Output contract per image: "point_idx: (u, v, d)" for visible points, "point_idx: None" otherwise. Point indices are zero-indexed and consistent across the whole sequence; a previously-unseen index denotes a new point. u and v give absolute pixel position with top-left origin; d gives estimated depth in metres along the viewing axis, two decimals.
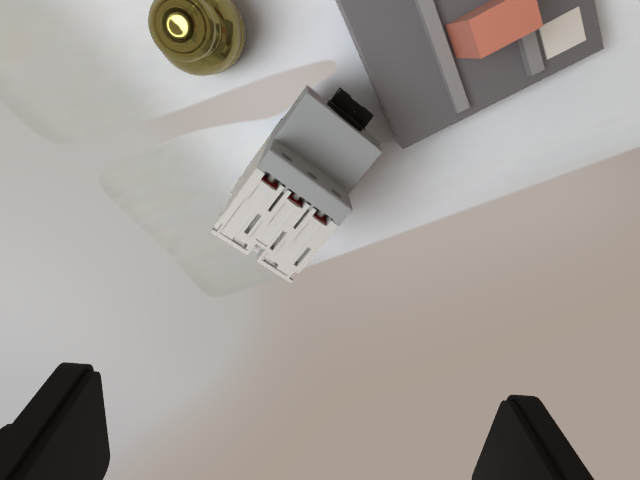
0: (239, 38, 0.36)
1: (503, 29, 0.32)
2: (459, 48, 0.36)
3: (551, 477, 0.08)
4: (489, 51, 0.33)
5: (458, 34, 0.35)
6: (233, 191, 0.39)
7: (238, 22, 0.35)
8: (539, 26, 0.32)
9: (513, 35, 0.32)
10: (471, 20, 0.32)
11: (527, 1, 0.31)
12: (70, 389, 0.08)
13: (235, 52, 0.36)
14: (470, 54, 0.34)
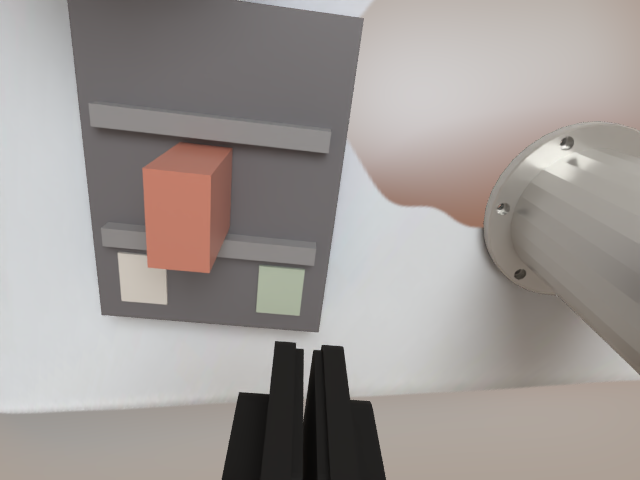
0: None
1: (172, 216, 0.19)
2: (187, 150, 0.22)
3: (315, 408, 0.08)
4: (147, 184, 0.19)
5: (206, 156, 0.22)
6: None
7: None
8: (149, 262, 0.20)
9: (155, 227, 0.20)
10: (208, 179, 0.19)
11: (192, 260, 0.20)
12: (295, 362, 0.09)
13: None
14: (164, 158, 0.20)
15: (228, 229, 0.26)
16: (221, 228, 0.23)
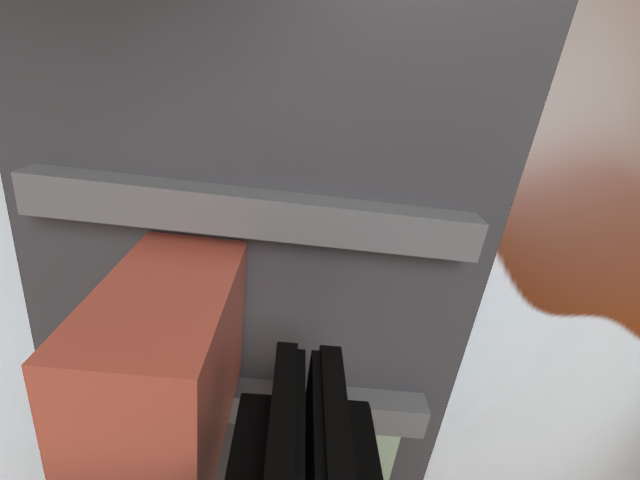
0: None
1: (105, 458, 0.08)
2: (157, 260, 0.11)
3: (312, 409, 0.08)
4: (38, 397, 0.07)
5: (193, 281, 0.10)
6: None
7: None
8: None
9: (68, 476, 0.08)
10: (191, 387, 0.07)
11: None
12: (297, 362, 0.09)
13: None
14: (97, 303, 0.09)
15: (238, 376, 0.14)
16: (225, 408, 0.12)
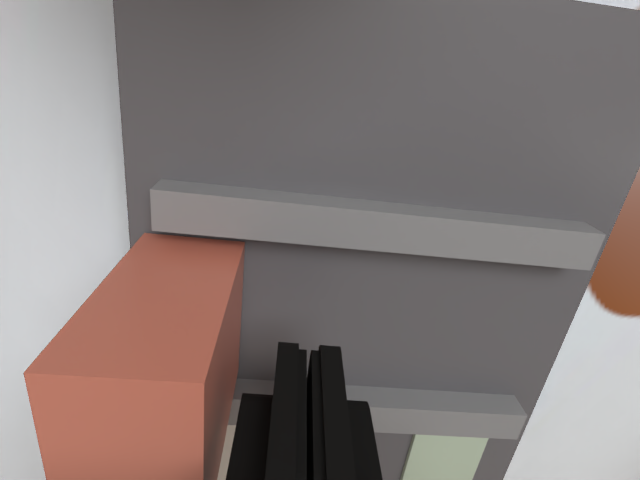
0: None
1: (110, 464, 0.08)
2: (155, 262, 0.11)
3: (311, 409, 0.08)
4: (41, 405, 0.07)
5: (193, 283, 0.10)
6: None
7: None
8: None
9: None
10: (198, 390, 0.07)
11: None
12: (298, 363, 0.09)
13: None
14: (97, 307, 0.09)
15: (236, 378, 0.14)
16: (225, 410, 0.12)
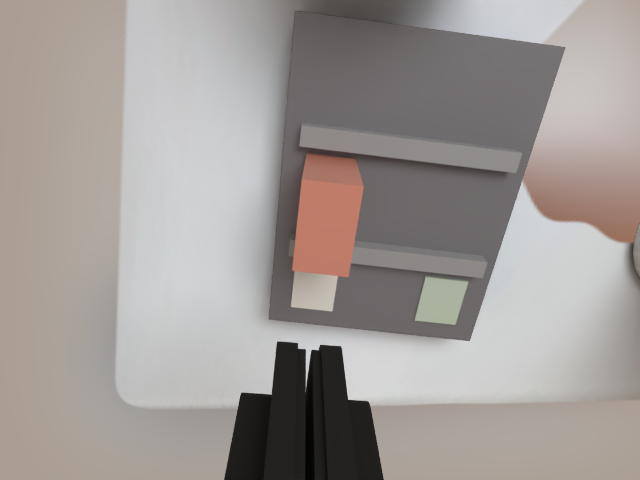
0: None
1: (322, 223, 0.21)
2: (320, 161, 0.24)
3: (312, 409, 0.08)
4: (303, 193, 0.20)
5: (341, 167, 0.23)
6: None
7: None
8: (294, 266, 0.22)
9: (305, 233, 0.21)
10: (361, 189, 0.20)
11: (334, 264, 0.22)
12: (297, 363, 0.09)
13: None
14: (310, 169, 0.22)
15: None
16: None
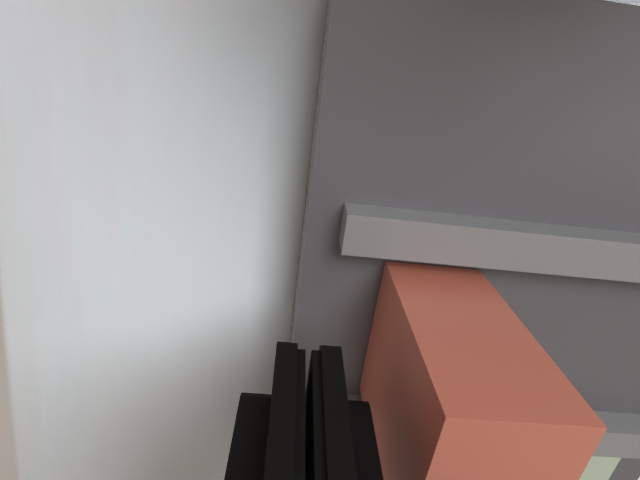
0: None
1: None
2: (429, 294, 0.11)
3: (312, 409, 0.08)
4: (446, 447, 0.08)
5: (484, 316, 0.10)
6: None
7: None
8: None
9: None
10: (598, 434, 0.08)
11: None
12: (297, 363, 0.09)
13: None
14: (432, 345, 0.09)
15: None
16: None
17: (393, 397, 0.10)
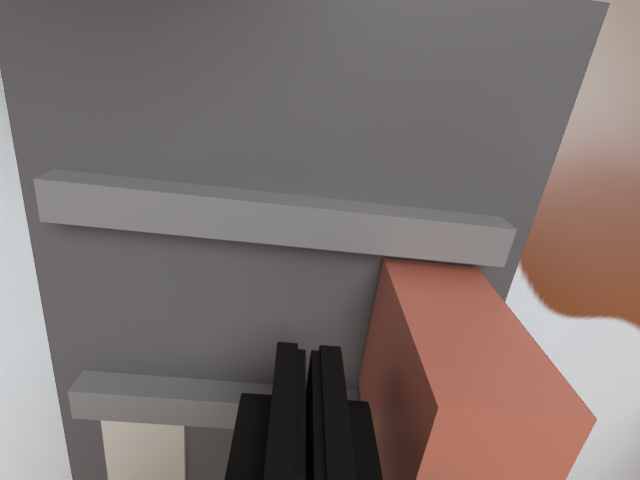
0: None
1: None
2: (425, 290, 0.11)
3: (312, 409, 0.08)
4: (438, 437, 0.08)
5: (479, 312, 0.11)
6: None
7: None
8: None
9: None
10: (588, 425, 0.08)
11: None
12: (297, 362, 0.09)
13: None
14: (427, 338, 0.09)
15: None
16: None
17: (390, 391, 0.11)
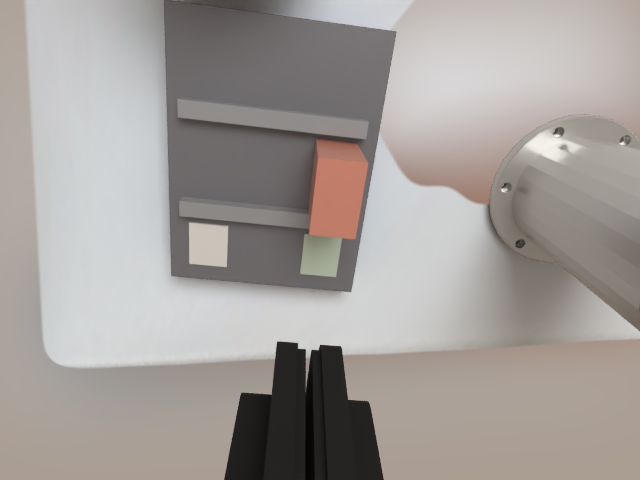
0: None
1: (334, 194, 0.26)
2: (329, 144, 0.28)
3: (312, 409, 0.08)
4: (319, 169, 0.25)
5: (347, 149, 0.28)
6: None
7: None
8: (311, 231, 0.26)
9: (320, 202, 0.26)
10: (366, 165, 0.25)
11: (344, 228, 0.26)
12: (297, 362, 0.09)
13: None
14: (322, 150, 0.26)
15: None
16: None
17: (313, 180, 0.28)
